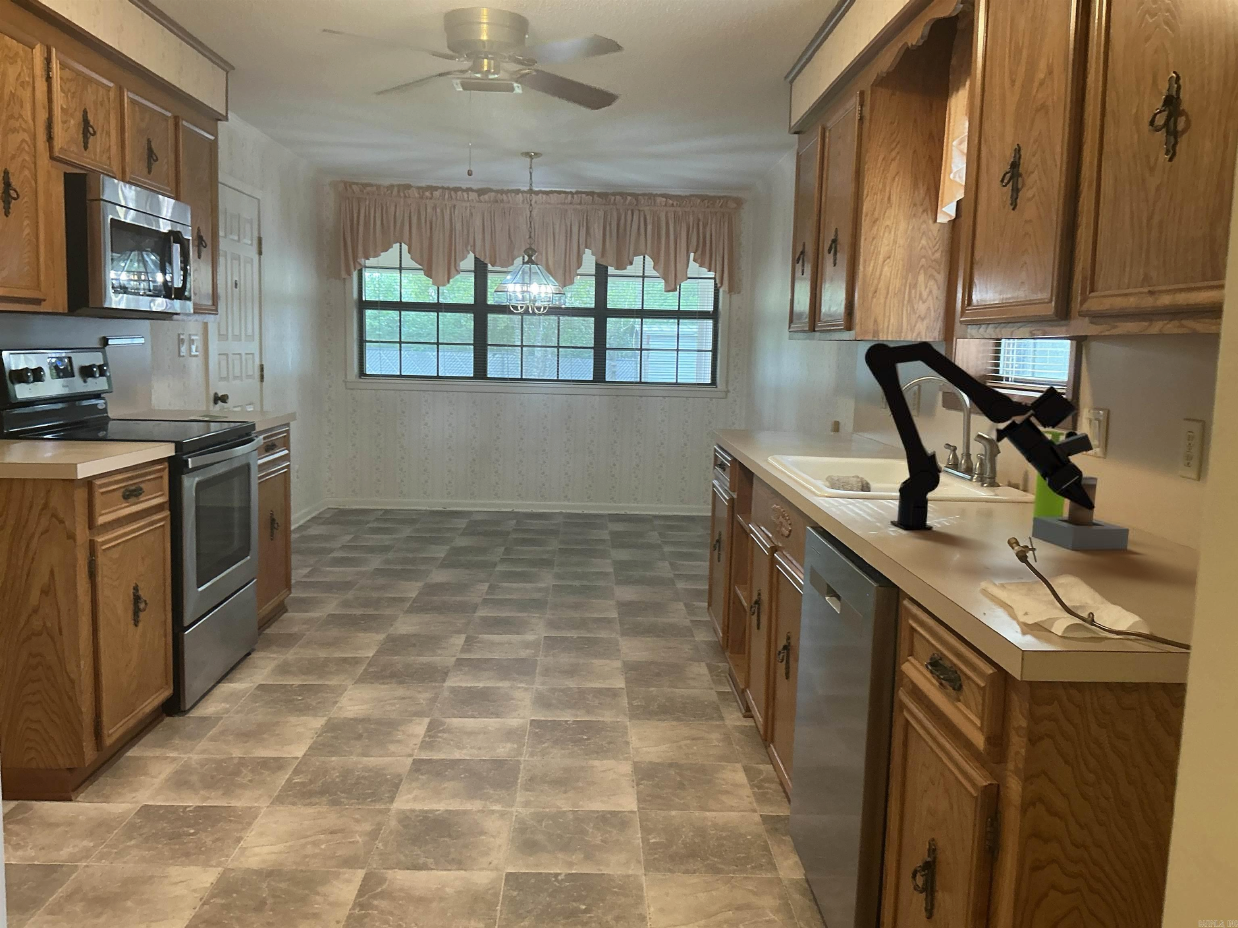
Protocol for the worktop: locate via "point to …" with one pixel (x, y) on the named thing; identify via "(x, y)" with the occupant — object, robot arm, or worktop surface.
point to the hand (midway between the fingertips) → (1089, 505)
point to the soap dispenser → (1048, 492)
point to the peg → (1079, 513)
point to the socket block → (1080, 534)
